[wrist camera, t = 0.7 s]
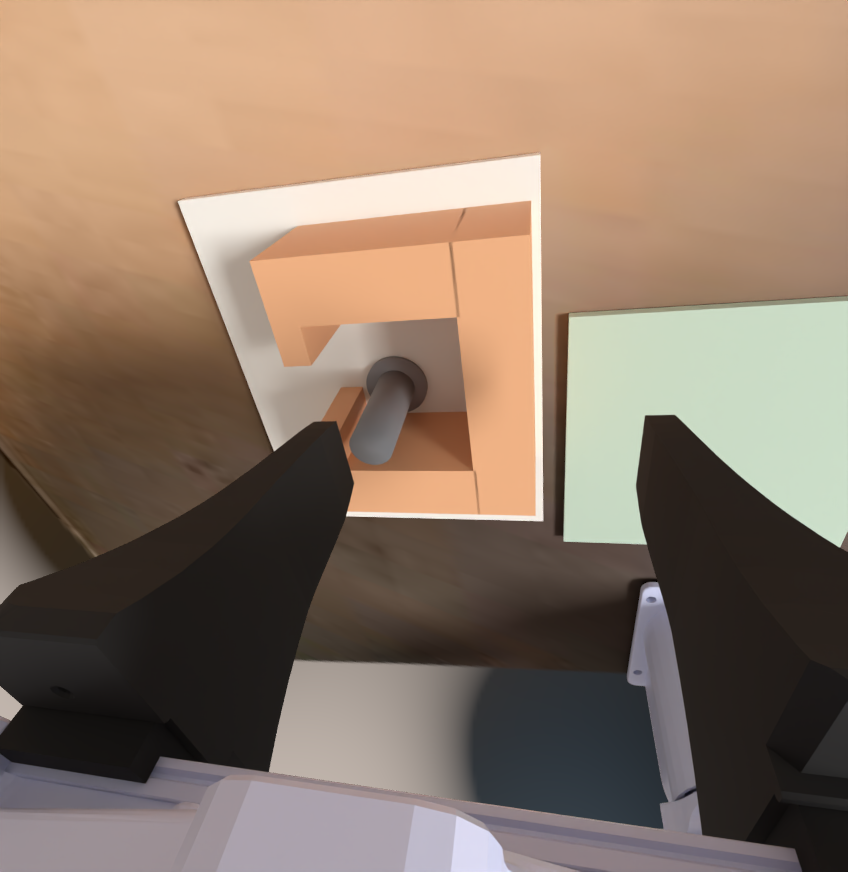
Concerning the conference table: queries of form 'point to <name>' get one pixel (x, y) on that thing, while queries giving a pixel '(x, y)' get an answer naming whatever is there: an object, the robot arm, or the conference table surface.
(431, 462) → the c link
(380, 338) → the stand
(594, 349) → the mat
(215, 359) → the conference table surface
